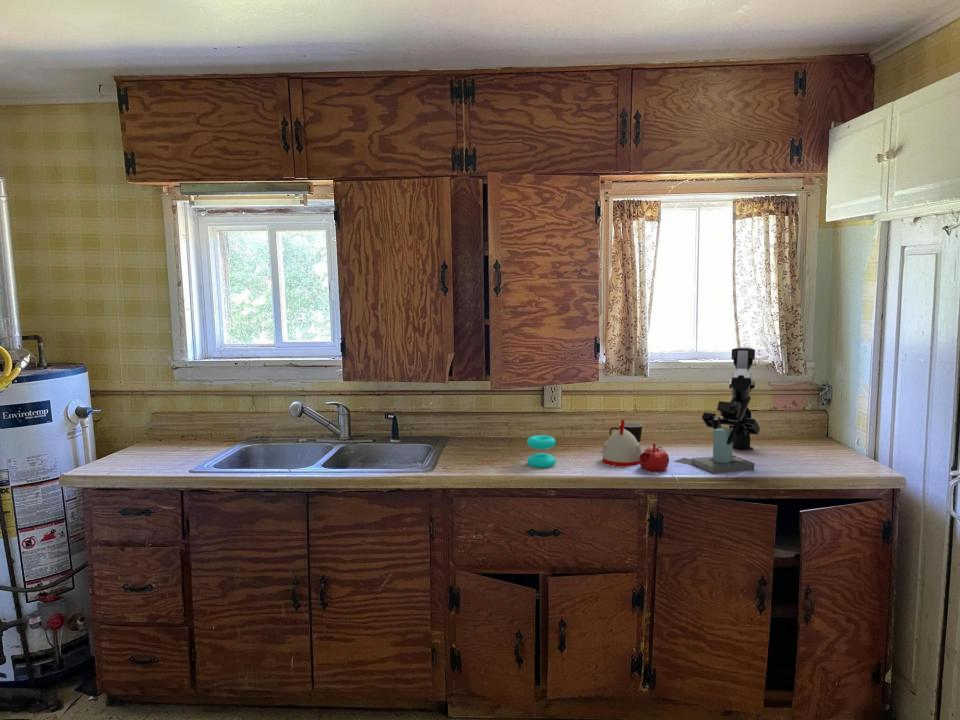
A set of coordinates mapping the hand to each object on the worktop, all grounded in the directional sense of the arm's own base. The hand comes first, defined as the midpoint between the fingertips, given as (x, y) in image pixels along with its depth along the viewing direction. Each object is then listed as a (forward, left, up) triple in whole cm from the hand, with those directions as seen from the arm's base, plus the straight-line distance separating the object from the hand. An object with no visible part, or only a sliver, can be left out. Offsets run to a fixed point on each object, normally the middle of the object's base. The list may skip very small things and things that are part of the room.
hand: (720, 442), depth 211 cm
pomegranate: (-6, -22, -9) cm, 24 cm away
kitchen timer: (-19, -27, -9) cm, 34 cm away
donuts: (-24, -56, -9) cm, 61 cm away
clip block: (-1, +1, -7) cm, 7 cm away
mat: (-10, -6, -9) cm, 15 cm away
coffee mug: (-34, -17, -9) cm, 39 cm away
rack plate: (0, +1, -9) cm, 9 cm away
